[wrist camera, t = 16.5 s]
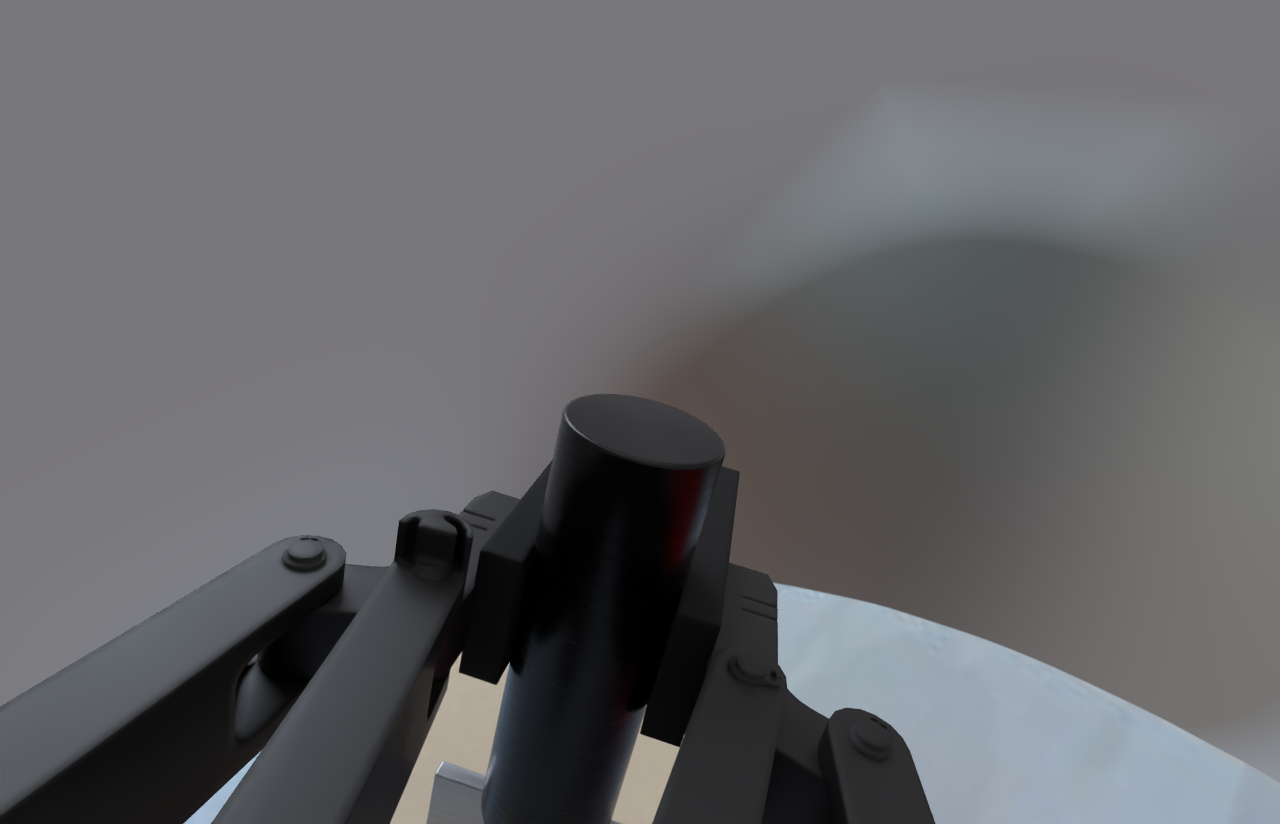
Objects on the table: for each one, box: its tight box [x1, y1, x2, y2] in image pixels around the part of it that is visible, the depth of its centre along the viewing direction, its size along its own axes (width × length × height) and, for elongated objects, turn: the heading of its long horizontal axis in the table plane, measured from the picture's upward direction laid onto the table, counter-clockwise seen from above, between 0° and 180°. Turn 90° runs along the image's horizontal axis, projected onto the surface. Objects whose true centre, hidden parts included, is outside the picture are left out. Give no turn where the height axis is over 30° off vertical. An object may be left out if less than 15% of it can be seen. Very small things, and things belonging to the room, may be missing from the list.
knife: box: [426, 394, 725, 824], centre depth 15 cm, size 3×5×19 cm, turn 79°
